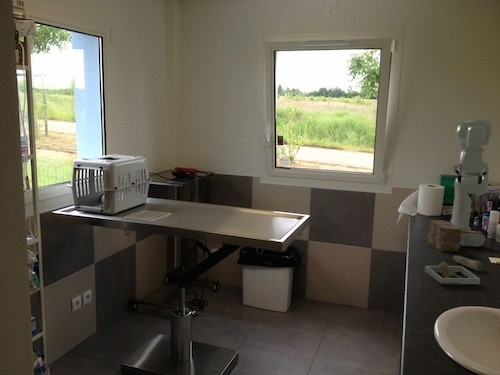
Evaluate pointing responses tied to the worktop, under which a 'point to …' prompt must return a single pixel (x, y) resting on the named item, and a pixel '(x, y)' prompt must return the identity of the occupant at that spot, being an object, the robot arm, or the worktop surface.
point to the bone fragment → (469, 263)
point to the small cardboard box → (443, 235)
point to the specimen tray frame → (470, 280)
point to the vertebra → (447, 271)
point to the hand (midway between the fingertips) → (469, 183)
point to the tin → (472, 238)
